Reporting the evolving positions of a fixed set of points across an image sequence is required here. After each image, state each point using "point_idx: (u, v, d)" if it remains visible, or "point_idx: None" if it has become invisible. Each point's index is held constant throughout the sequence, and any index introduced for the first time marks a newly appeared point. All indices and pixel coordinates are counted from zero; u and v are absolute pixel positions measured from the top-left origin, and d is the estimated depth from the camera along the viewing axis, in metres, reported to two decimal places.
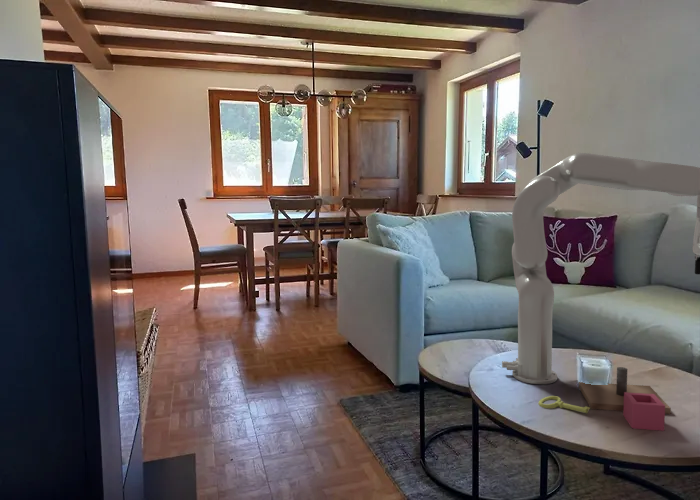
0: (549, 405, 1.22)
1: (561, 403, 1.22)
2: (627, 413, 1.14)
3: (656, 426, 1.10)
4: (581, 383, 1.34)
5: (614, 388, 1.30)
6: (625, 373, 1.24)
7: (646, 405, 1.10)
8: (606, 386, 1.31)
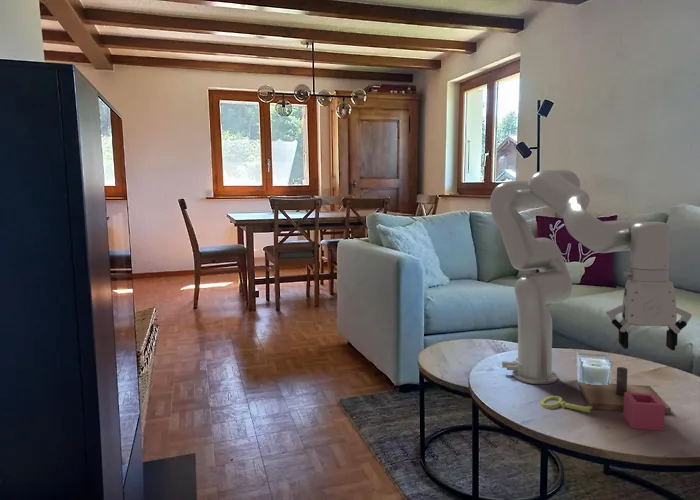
0: (552, 405, 1.22)
1: (563, 403, 1.22)
2: (627, 413, 1.14)
3: (656, 426, 1.10)
4: (581, 383, 1.34)
5: (614, 388, 1.30)
6: (625, 373, 1.24)
7: (646, 405, 1.10)
8: (606, 386, 1.31)
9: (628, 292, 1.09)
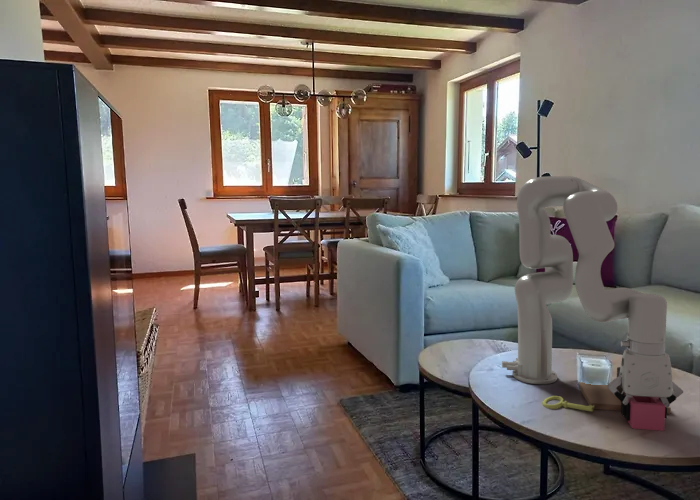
0: (554, 405, 1.22)
1: (565, 403, 1.22)
2: None
3: (656, 426, 1.09)
4: (581, 383, 1.34)
5: None
6: None
7: (646, 405, 1.10)
8: (606, 386, 1.31)
9: (625, 363, 1.11)
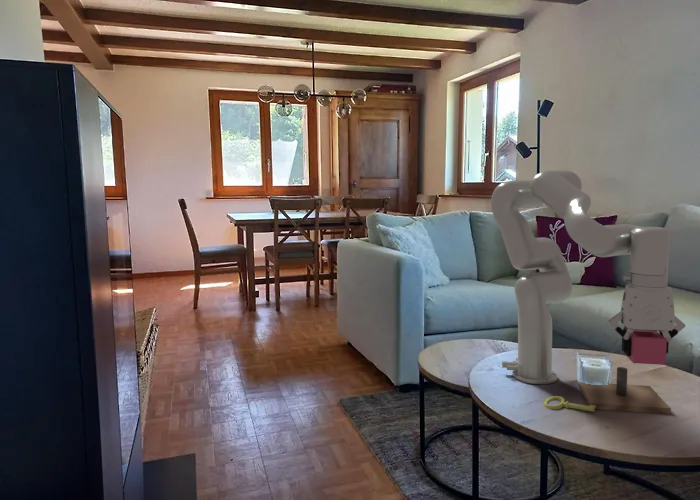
0: (556, 406, 1.22)
1: (567, 403, 1.22)
2: None
3: (657, 360, 1.08)
4: (581, 383, 1.34)
5: (614, 388, 1.30)
6: (625, 373, 1.24)
7: (648, 339, 1.08)
8: (606, 386, 1.31)
9: (627, 297, 1.09)
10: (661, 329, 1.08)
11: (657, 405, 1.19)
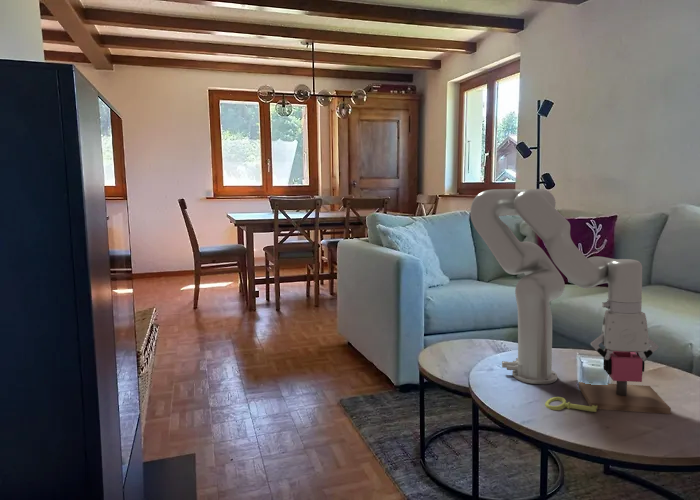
0: (558, 407, 1.21)
1: (568, 404, 1.22)
2: None
3: (635, 378, 1.21)
4: (581, 383, 1.34)
5: (614, 388, 1.30)
6: None
7: (625, 359, 1.21)
8: (606, 386, 1.31)
9: (606, 322, 1.23)
10: (637, 350, 1.21)
11: (657, 405, 1.19)
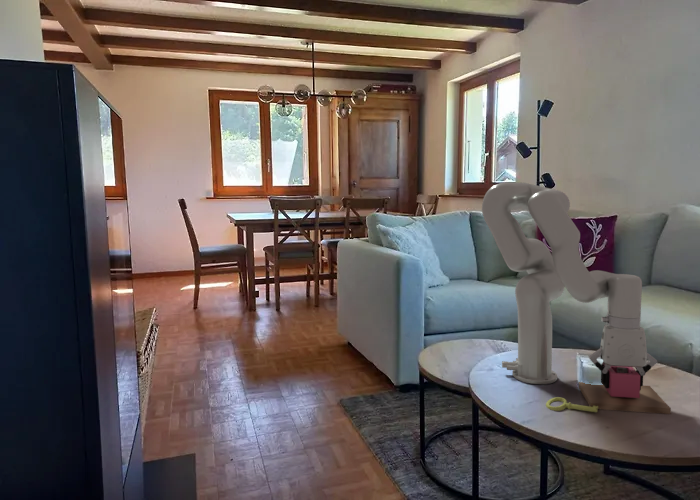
0: (558, 407, 1.21)
1: (569, 404, 1.22)
2: None
3: (632, 394, 1.22)
4: (581, 383, 1.34)
5: None
6: None
7: (623, 375, 1.22)
8: None
9: (605, 336, 1.24)
10: (635, 365, 1.22)
11: (657, 405, 1.19)
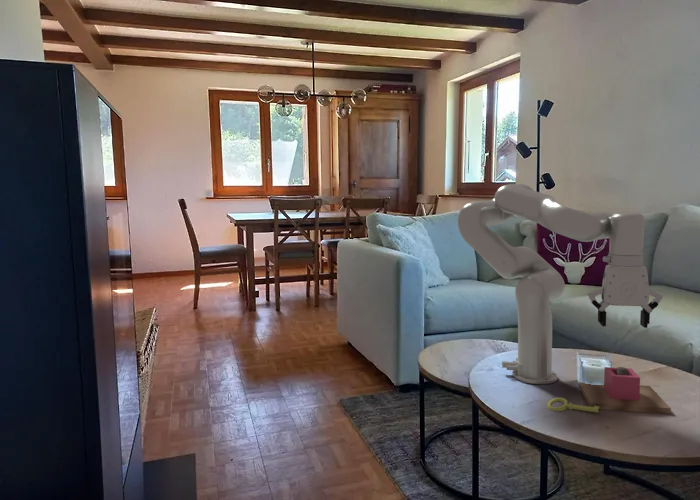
0: (560, 408, 1.21)
1: (570, 405, 1.21)
2: (607, 385, 1.27)
3: (632, 396, 1.22)
4: (581, 383, 1.34)
5: None
6: (625, 373, 1.24)
7: (623, 377, 1.22)
8: None
9: (606, 275, 1.22)
10: (637, 304, 1.20)
11: (657, 405, 1.19)
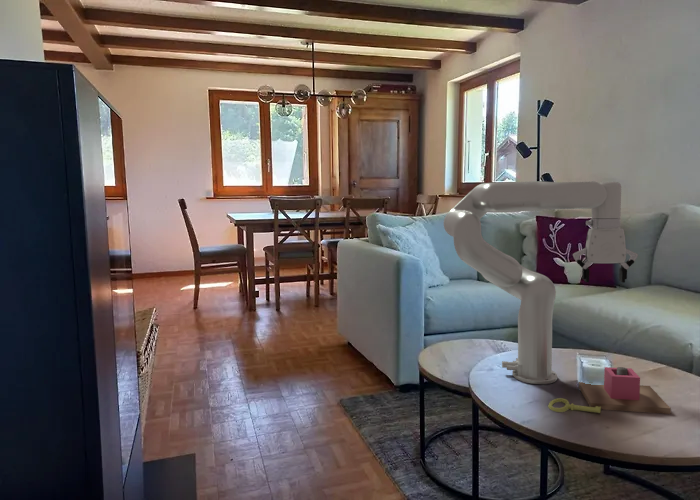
0: (562, 408, 1.20)
1: (572, 405, 1.21)
2: (607, 385, 1.27)
3: (632, 396, 1.22)
4: (581, 383, 1.34)
5: None
6: (625, 373, 1.24)
7: (623, 377, 1.22)
8: None
9: (589, 237, 1.39)
10: (615, 261, 1.37)
11: (657, 405, 1.19)
